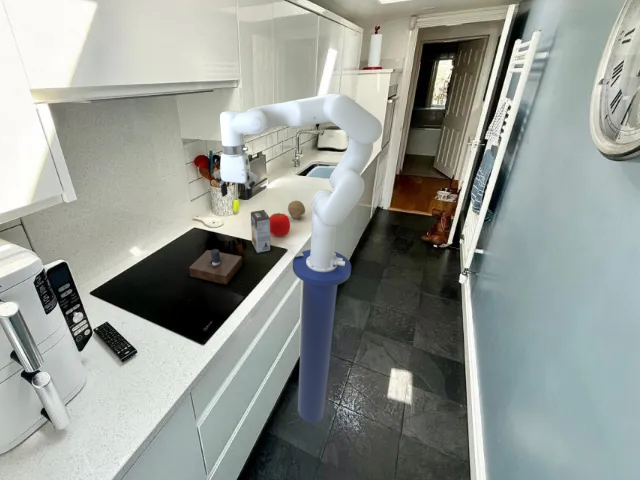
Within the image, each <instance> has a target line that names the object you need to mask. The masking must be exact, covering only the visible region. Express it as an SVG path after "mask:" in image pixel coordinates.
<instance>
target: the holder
mask: <svg viewBox="0 0 640 480" xmlns="http://www.w3.org/2000/svg"><path fill="white" fill-rule="evenodd" d="M211 251H212V250H209V249H207V250H205V252H204V253H203V254H202V255H200V257H199V258H197V259H196V260H195V261H194V262H193V264H191V265H190V266H189V267H188V269H189V276H190V277H192V278H197V279H200V280H205V281H209V282H214V283H217V284H222V285H226V286H227V285H228V284H229V283H230V281H231V280H232V278H233V277H234V276H236V274H237V273H238V271H239V270H240V269H241V267H242V266H243V256H241V255H235V254H231V253H225V252H221V251H219V255H220V264H219V265H212V257H211Z"/></svg>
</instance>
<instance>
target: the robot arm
mask: <svg viewBox="0 0 640 480" xmlns="http://www.w3.org/2000/svg"><path fill="white" fill-rule="evenodd" d="M219 122H220V123H219V124H220V136H221V137H220V138H221V147H222V149H221V150H222V153H220V164H219V165H220V166H219V169H218V170H216V171H215V172H213V173H212V175H213V177H214V179H215V181H216V182H217V183H218V186H220V193H221V197H222V198H224V197H226V196H227V195H228V184H227V183H232V184H234V183H235V184H243V185H244V186H245V187H246V189H245V200H250V199H251V198H252V197H253V187H254V186H255V185H256V184H257V182H258V180H259V178H260V177H259V175H257V174H256V173H254V172H252V171H251V165H250V159H249V154H248V153H247V152H248V151H249V147H248V146H246V144H245V135H247V136H248V135H249V136H259V135H261V134H264V132H265V131H266V130H267V128H273V127H290V128H303V127H309V126H312V125H313V126H314V125H318V124H319V125H320V124H324V123H330V122H331V123H333V124H334V125H336V126H337V127H338V128H339V129H341V130H342V131H343V132H344V133H346V134H347V137H348V144H347V147H346V150H345V152H344V154H343V155H342V157H341V159H340V160H339V162H338V163H337V165H336V166H335V168H334V169H333V171H332V172H331V173H330V176H329V180H328V181H329V185H330V187H331V188H332V189H333V190H330V189H321V190H319V191H317V192H316V193H315V194H314V195H313V197H312V199H311V234H310V250H311V251H310V256H309V257H308V258H307V260H306V264H307V266H308V267H309V268H310V269H312V270H314V271H317V272H330V271H333V270H335V269H336V267H337V265H340V266H345V261H343V258H337V257H336V253H334V252H336V241H337V231H338V226H339V225H341V223H343V222H344V221H345V220H346V219H347V217H349V214H351V212H352V211H353V209H354V207H355V206H356V205H357V204H358V203H359V201H360V199H361V198H362V197H363V194H364V191H365V181H364V179H363V177H362V175H361V174H362V172H363V171H364V170H365V168H366V166H367V164H368V163H369V161H370V159H371V157H372V154H373V152H374V151H373V150H374V143H376V142H377V141H378V140H379V139H380V137H381V136H382V133H383V125H382V122H381V121H380V120H379V118H377V117H376V116H375V115H374V114H372V113H371V112H369V111H368V110H367V109H365V107H363V106H361V105H360V104H359V103H358V102H356V101H355V100H354V99H353V98H352V97H350V96H349V95H347V94H342V93H339V92H338V93H337V92H335V93H334V92H333V93H328V94H323V95H317V96H312V97H305V98H299V99H293V100H288V101H283V102H278V103H271V104H270V103H269V104H266V105H259V106H254V107H251V108H249V109H247V110H246V111H245V112H241V111H239V110H226V111H223V112H221V113H220V115H219ZM251 179H252V181H251Z"/></svg>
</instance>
